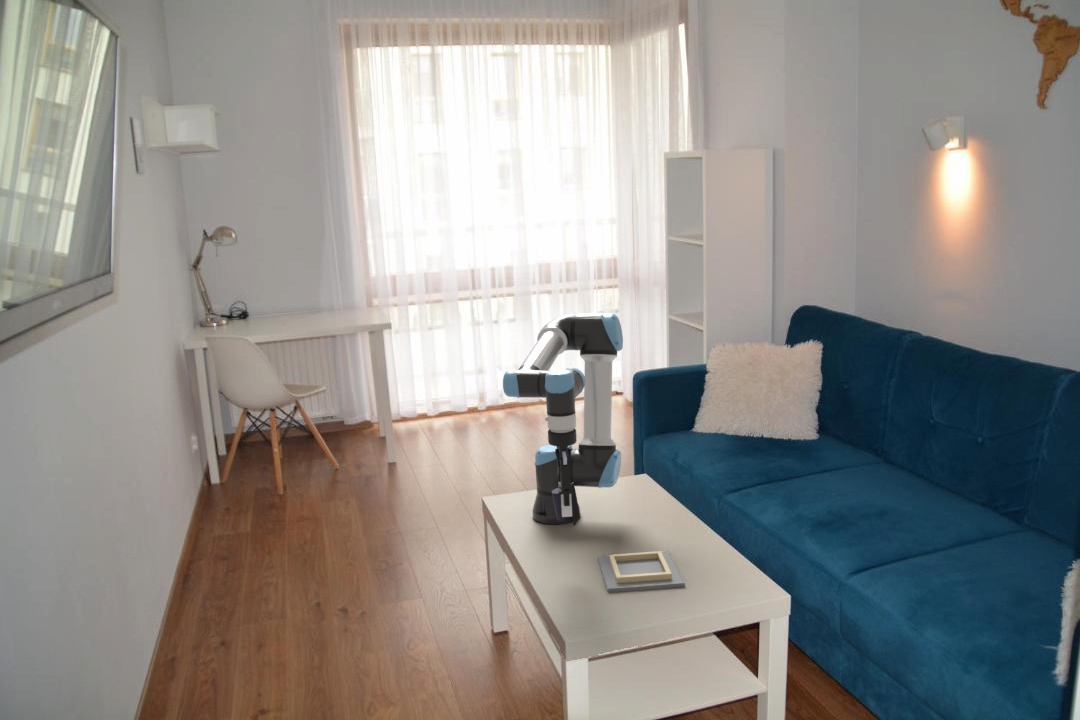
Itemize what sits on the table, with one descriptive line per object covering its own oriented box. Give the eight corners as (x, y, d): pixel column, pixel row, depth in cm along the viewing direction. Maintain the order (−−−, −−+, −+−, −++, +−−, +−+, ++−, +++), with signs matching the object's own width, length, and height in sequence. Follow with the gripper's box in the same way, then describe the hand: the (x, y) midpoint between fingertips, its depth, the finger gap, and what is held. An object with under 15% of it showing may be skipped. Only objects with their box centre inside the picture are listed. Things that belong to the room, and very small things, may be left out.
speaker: (587, 518, 232) (581, 481, 230) (574, 526, 228) (568, 488, 226) (565, 515, 237) (559, 479, 235) (552, 522, 233) (546, 486, 231)
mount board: (598, 559, 240) (597, 551, 240) (669, 554, 241) (668, 546, 241) (607, 592, 221) (607, 583, 220) (684, 586, 222) (684, 577, 221)
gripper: (545, 419, 237) (549, 498, 242) (550, 440, 217) (554, 526, 221) (572, 417, 237) (576, 496, 242) (579, 438, 217) (583, 524, 222)
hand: (565, 510), depth 232 cm, fingers closed on speaker, 8 cm apart
